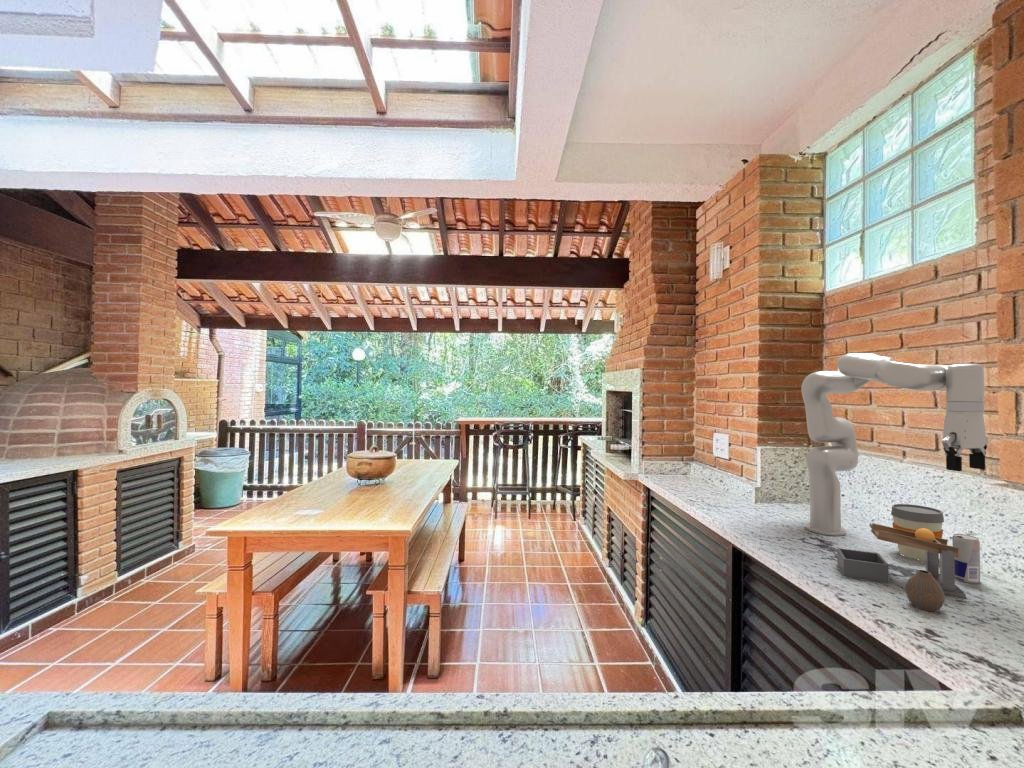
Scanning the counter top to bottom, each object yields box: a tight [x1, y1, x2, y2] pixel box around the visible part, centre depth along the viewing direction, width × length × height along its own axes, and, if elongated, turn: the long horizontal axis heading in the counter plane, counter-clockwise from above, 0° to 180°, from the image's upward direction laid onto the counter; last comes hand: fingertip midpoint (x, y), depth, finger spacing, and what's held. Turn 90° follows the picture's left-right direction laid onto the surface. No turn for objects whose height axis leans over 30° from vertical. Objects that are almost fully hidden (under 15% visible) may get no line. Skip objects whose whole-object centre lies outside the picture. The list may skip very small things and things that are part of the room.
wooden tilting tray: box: [869, 522, 959, 557], centre depth 127 cm, size 15×16×3 cm
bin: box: [836, 547, 889, 584], centre depth 129 cm, size 10×10×5 cm
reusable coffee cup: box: [890, 503, 945, 561], centre depth 143 cm, size 13×13×15 cm
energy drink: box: [952, 533, 981, 585], centre depth 125 cm, size 5×5×12 cm
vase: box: [905, 569, 945, 612], centre depth 109 cm, size 7×7×9 cm
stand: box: [915, 549, 967, 599], centre depth 121 cm, size 14×6×11 cm, turn 153°
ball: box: [915, 528, 935, 542], centre depth 123 cm, size 4×4×4 cm
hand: (965, 469), depth 125 cm, fingers open, 9 cm apart
